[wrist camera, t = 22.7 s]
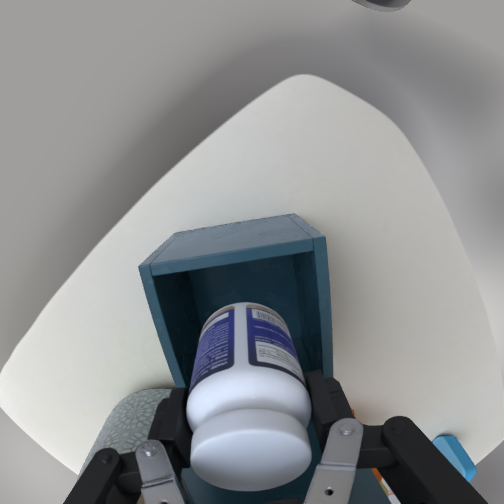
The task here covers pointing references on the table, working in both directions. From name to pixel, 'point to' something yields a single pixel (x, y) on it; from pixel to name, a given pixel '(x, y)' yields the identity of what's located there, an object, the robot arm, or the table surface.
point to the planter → (128, 424)
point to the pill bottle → (248, 401)
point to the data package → (456, 455)
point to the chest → (241, 286)
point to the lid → (286, 485)
